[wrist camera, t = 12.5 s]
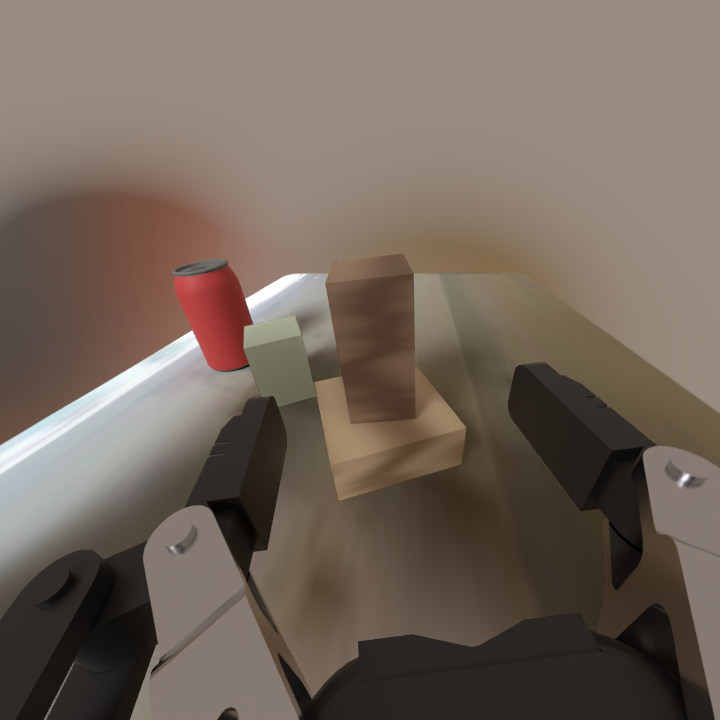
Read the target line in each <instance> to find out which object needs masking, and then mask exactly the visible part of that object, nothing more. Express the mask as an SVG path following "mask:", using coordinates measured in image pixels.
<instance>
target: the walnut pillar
mask: <svg viewBox="0 0 720 720" xmlns="http://www.w3.org/2000/svg"><path fill="white" fill-rule="evenodd" d="M325 284H326V289H327V295H328V300H329V306H330V312H331V317H332V323H333V328H334V334H335V339H336V345H337V351H338V356H339V362H340V367H341V373H342V379H343V384H344V390H345V395H346V401H347V406H348V412H349V418H350V423H351V424H359V423H372V422H386V421H399V420H412V419H416V408H415V338H414V273H413V272H412V270H411V268H410V266H409V264H408V262H407V260H406V259H405V257H404V255H403V254H397V255H389V256H380V257H371V258H362V259H354V260H345V261H336V262H333V264H332V266H331V269H330V272H329V275H328V278H327V280H326V283H325Z"/></svg>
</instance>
